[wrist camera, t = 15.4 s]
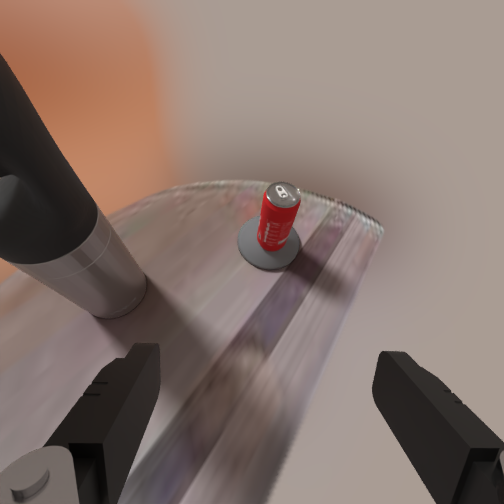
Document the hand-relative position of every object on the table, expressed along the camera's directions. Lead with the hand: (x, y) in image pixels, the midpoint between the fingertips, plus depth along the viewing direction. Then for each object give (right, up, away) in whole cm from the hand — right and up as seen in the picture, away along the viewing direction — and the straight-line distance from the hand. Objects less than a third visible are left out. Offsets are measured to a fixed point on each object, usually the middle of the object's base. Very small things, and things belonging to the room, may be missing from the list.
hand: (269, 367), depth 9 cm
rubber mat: (+2, +6, +37) cm, 37 cm away
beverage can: (+3, +6, +36) cm, 37 cm away
